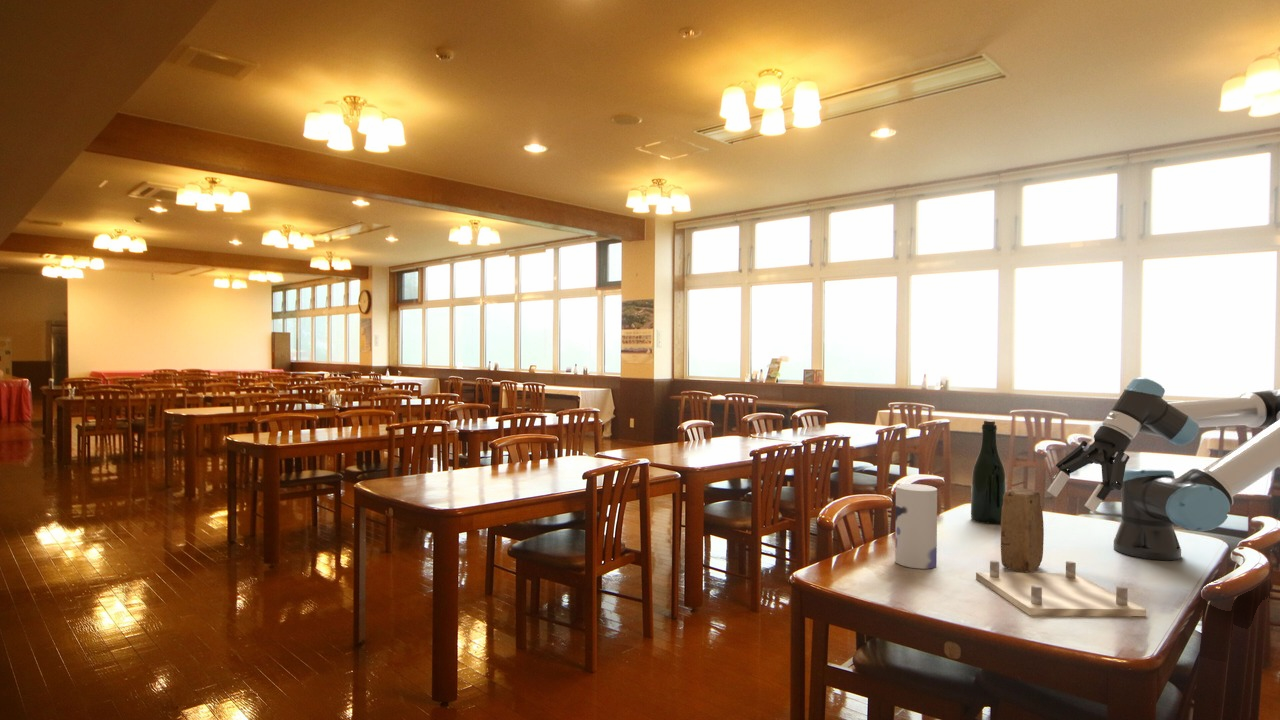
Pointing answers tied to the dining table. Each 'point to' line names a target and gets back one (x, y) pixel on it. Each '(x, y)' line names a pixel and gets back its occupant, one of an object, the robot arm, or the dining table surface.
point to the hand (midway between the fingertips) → (1069, 501)
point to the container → (916, 526)
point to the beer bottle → (988, 479)
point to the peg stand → (1059, 593)
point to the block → (1022, 530)
